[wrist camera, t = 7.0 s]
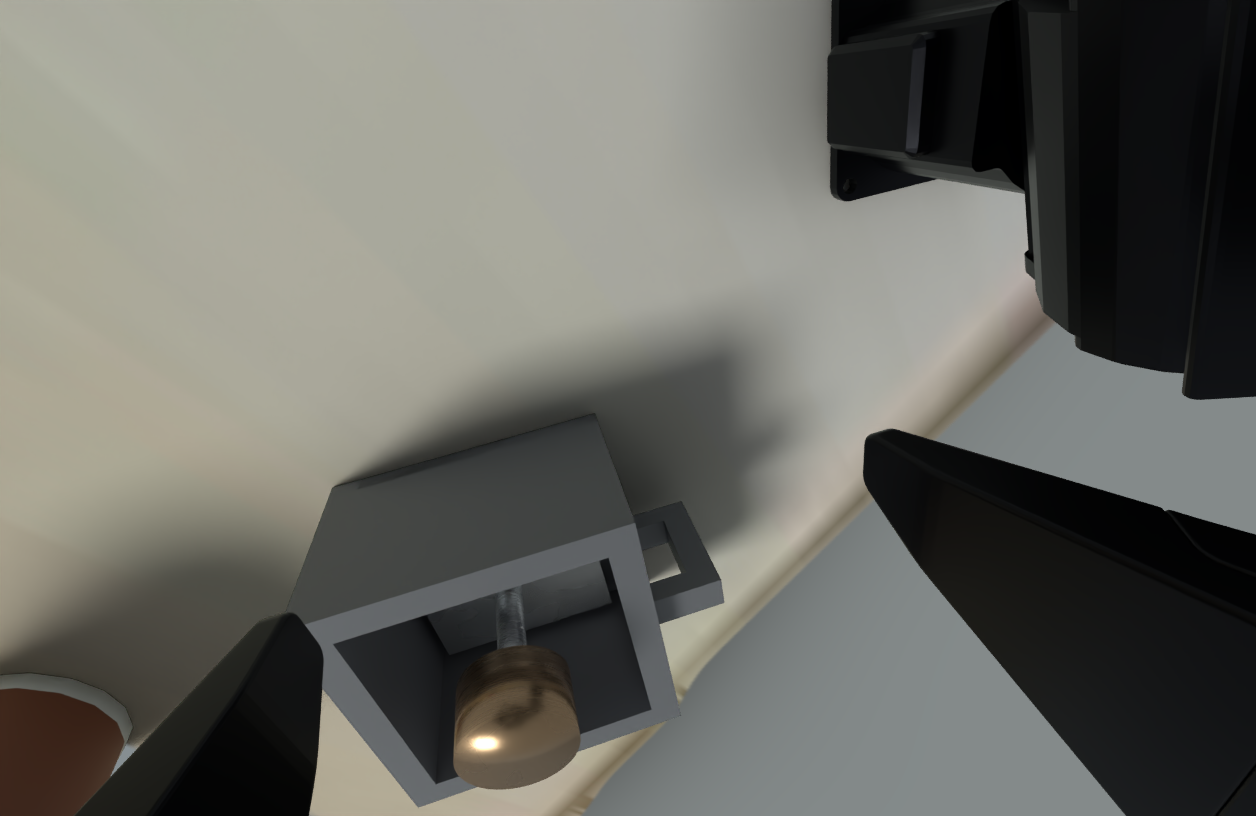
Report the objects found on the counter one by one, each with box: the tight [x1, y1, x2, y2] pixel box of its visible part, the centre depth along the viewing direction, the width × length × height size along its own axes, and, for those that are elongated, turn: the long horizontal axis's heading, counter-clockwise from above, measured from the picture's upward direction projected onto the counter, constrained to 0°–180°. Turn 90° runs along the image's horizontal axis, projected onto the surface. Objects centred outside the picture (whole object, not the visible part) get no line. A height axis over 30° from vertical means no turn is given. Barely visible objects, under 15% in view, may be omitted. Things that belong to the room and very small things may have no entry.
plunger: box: [427, 561, 612, 789], centre depth 19 cm, size 7×7×8 cm
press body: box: [286, 414, 724, 807], centre depth 21 cm, size 12×10×6 cm
